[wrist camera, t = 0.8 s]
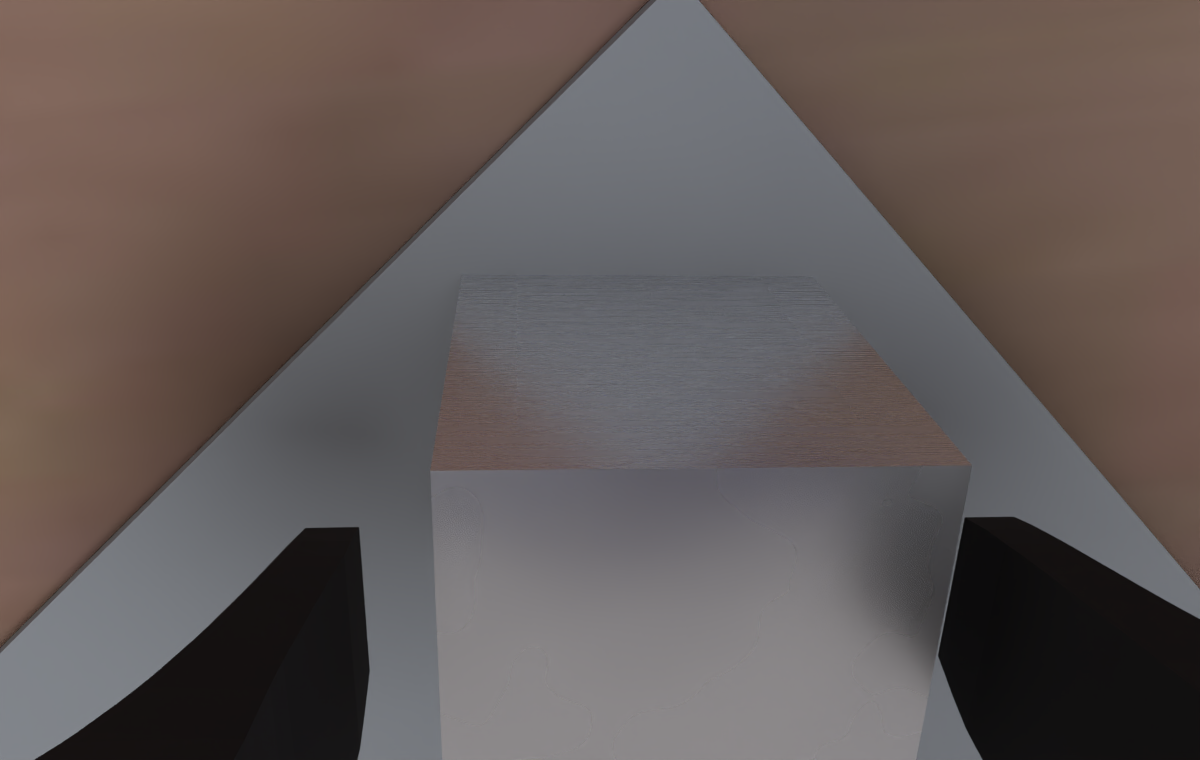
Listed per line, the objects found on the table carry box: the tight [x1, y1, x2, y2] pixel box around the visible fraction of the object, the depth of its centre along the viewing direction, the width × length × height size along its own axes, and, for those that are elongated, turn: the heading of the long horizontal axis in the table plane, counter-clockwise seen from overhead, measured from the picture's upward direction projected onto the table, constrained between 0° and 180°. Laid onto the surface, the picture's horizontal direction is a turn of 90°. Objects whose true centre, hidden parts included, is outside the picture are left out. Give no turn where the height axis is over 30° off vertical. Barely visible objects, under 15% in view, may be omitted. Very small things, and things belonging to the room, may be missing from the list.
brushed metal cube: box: [430, 275, 972, 760], centre depth 14 cm, size 5×5×6 cm
